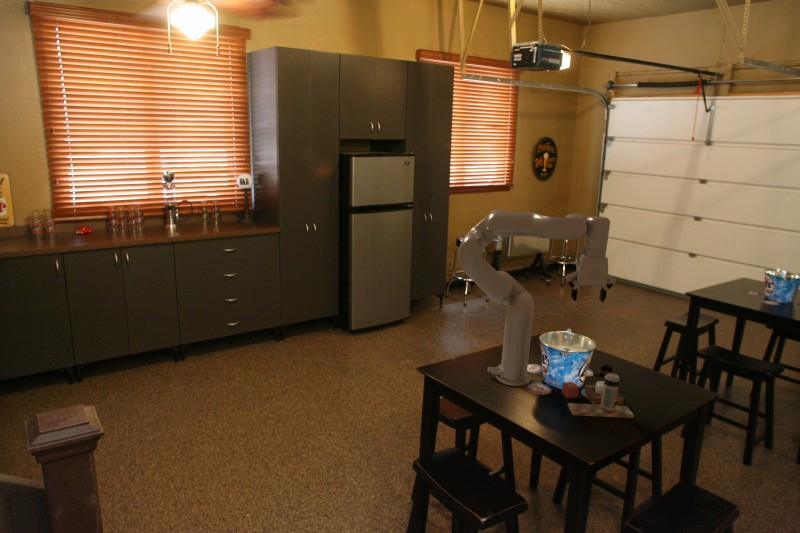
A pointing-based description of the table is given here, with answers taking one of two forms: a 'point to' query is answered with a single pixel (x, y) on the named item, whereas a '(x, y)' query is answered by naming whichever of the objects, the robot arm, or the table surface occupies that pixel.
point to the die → (570, 389)
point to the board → (599, 410)
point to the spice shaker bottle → (610, 392)
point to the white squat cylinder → (599, 388)
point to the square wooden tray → (597, 399)
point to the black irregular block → (603, 368)
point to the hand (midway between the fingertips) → (587, 300)
